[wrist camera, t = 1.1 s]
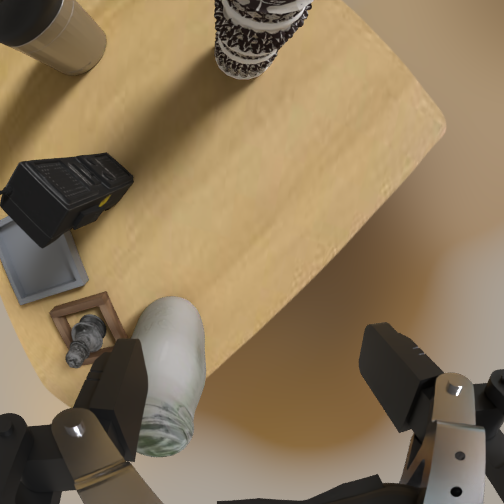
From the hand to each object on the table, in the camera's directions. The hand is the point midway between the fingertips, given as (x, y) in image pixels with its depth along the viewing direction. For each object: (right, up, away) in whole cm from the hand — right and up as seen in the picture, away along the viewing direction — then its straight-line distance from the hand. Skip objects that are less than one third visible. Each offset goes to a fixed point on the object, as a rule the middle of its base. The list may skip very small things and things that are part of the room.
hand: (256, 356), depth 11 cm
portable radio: (-21, +14, +33) cm, 42 cm away
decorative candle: (-1, +33, +30) cm, 45 cm away
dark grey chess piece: (-28, -10, +39) cm, 49 cm away
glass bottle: (-13, -7, +40) cm, 43 cm away
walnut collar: (-28, -10, +39) cm, 49 cm away
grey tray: (-36, +4, +34) cm, 50 cm away
